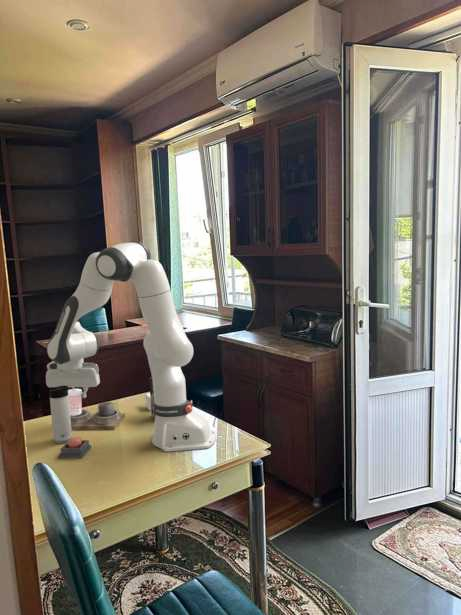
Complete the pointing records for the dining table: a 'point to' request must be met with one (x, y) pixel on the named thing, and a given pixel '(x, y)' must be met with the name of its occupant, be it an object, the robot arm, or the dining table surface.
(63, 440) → the travel mug
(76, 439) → the button
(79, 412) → the beverage cup
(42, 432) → the dining table surface
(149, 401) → the adhesive note
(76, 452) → the button housing
